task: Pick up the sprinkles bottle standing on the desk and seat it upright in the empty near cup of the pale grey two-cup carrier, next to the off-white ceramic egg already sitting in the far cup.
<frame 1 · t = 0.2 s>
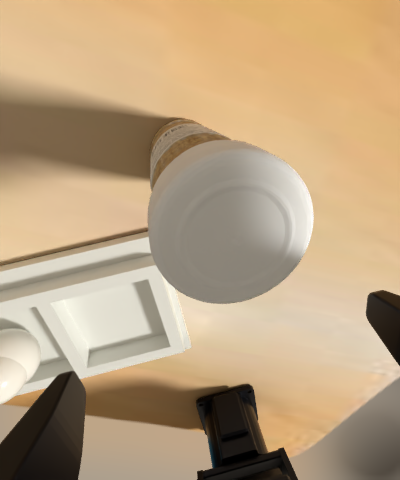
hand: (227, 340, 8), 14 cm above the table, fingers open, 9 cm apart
sprinkles bottle: (183, 153, 19), on the table
carrier: (72, 316, 24), on the table
egg: (19, 337, 22), point 1 cm above the table, touching carrier
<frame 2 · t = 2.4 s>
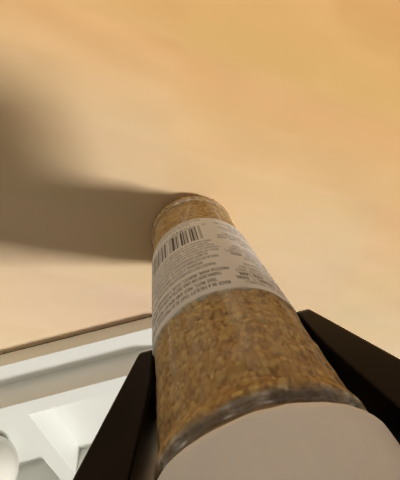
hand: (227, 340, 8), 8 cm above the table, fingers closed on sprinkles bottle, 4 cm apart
sprinkles bottle: (192, 230, 16), on the table, touching gripper
carrier: (58, 409, 20), on the table
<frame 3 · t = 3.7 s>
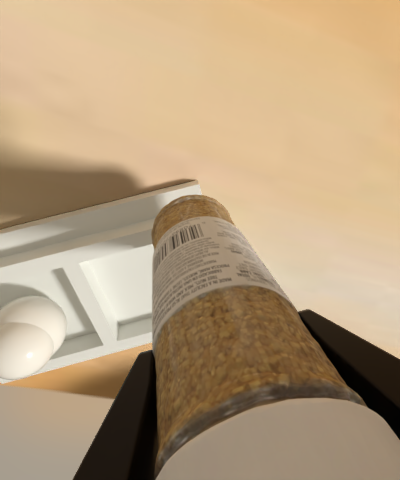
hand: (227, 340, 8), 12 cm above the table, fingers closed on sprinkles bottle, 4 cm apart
sprinkles bottle: (192, 229, 16), point 4 cm above the table, touching gripper
carrier: (98, 285, 21), on the table
egg: (41, 307, 20), point 1 cm above the table, touching carrier
when the fingers open (10 cm above the table, at t = 5.0 s): sprinkles bottle stays where it is, resting on carrier.
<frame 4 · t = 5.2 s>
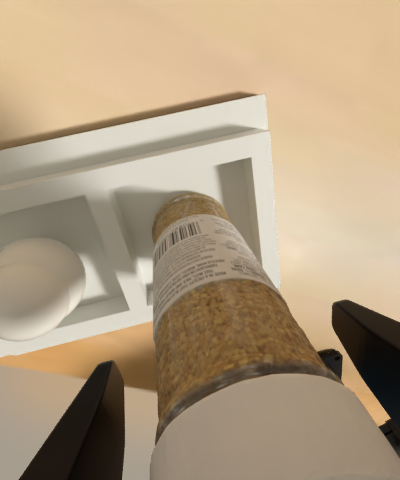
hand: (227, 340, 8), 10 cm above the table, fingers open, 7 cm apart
sprinkles bottle: (191, 226, 16), point 1 cm above the table, touching carrier
carrier: (124, 235, 17), on the table
egg: (52, 259, 16), point 1 cm above the table, touching carrier
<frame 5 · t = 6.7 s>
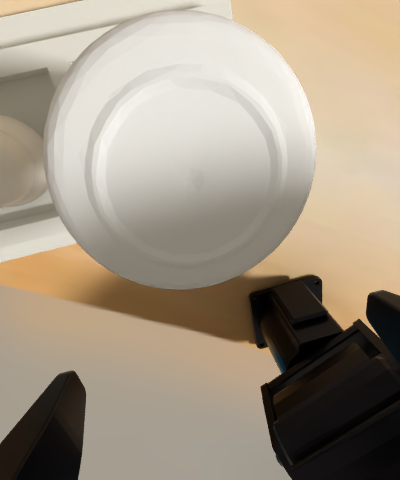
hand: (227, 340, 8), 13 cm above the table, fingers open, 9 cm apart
sprinkles bottle: (160, 123, 17), point 1 cm above the table, touching carrier
carrier: (95, 136, 17), on the table
egg: (22, 154, 16), point 1 cm above the table, touching carrier
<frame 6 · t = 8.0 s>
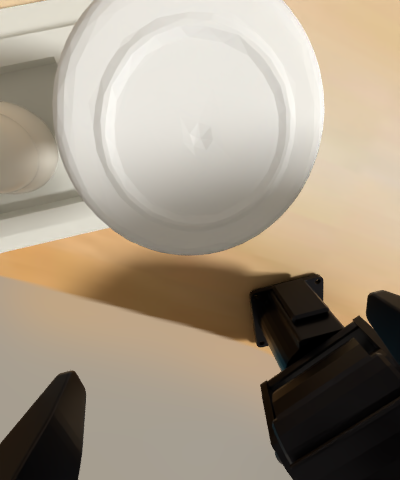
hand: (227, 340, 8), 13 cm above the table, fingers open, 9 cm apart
sprinkles bottle: (164, 116, 17), point 1 cm above the table, touching carrier
carrier: (99, 128, 17), on the table
egg: (27, 144, 16), point 1 cm above the table, touching carrier
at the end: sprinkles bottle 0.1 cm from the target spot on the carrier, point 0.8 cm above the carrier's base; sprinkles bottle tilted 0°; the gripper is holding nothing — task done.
